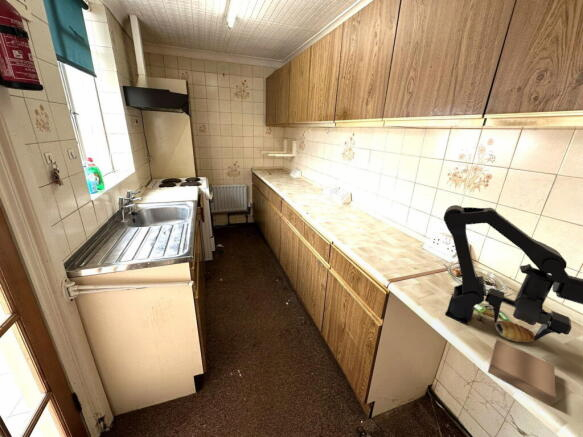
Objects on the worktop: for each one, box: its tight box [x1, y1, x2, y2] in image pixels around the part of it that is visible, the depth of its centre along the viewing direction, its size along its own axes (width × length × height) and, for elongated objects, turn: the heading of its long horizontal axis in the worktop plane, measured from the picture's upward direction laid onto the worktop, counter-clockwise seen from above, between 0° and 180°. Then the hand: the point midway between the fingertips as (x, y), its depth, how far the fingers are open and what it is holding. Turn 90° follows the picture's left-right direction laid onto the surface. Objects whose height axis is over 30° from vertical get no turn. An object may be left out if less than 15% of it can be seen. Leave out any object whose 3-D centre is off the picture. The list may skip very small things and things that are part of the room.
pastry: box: [494, 319, 535, 343], centre depth 77 cm, size 9×7×4 cm
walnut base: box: [487, 338, 557, 407], centre depth 65 cm, size 12×12×3 cm
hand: (514, 330), depth 77 cm, fingers open, 9 cm apart
